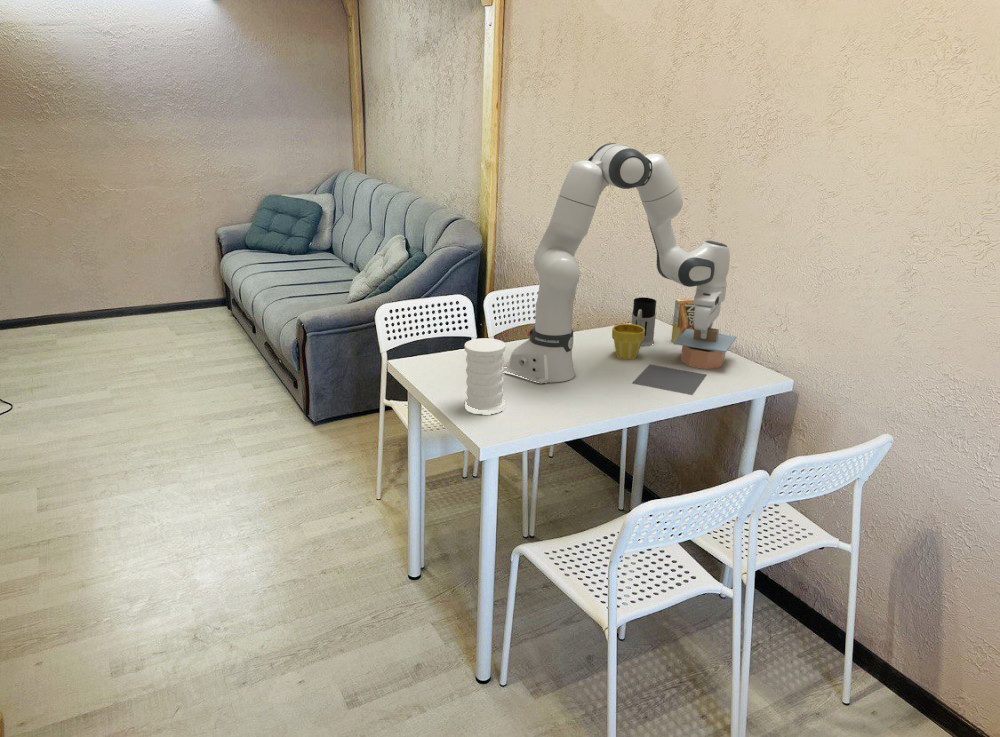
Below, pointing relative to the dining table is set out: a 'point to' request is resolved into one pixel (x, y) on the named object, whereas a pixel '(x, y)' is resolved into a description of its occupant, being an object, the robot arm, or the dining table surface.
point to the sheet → (705, 344)
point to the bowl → (702, 357)
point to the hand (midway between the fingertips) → (705, 336)
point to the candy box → (683, 317)
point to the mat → (670, 379)
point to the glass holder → (645, 317)
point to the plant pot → (627, 340)
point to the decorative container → (485, 373)
